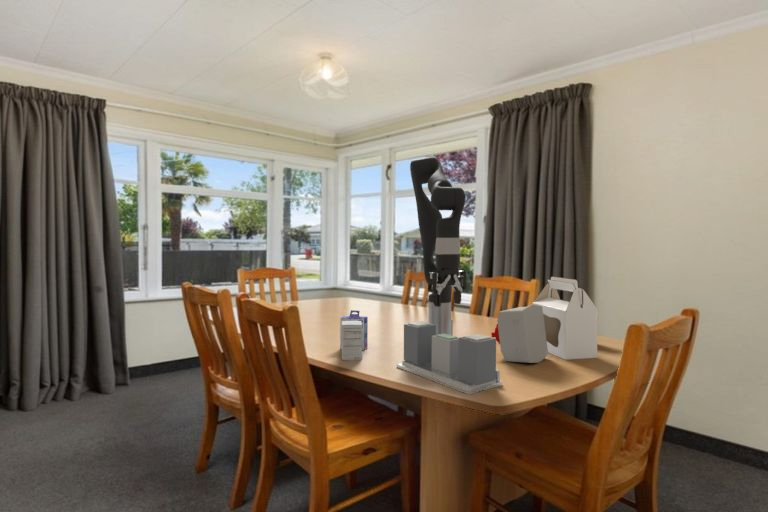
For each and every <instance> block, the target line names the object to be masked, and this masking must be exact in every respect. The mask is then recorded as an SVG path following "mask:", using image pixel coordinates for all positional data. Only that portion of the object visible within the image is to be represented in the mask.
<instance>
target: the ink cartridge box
mask: <svg viewBox="0 0 768 512" xmlns="http://www.w3.org/2000/svg"><path fill="white" fill-rule="evenodd" d="M368 317H369V316H361V315H360V310H352V309H351V310H350V313H349V316H348V315H344V316H342V317H340V323H339V325H340V328H339V331H340V333H339V334H340V336H339V338H340V339H339V343H340V345H339V348H340V350H342V342H341V325H342V321H361V322H362V351H365V350H366V349H367V348H368V345H369V344H368V343H369V342H368V336H369V335H368V331H369V330H368V324H369V322H368Z"/></svg>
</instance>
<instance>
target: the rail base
mask: <svg viewBox="0 0 768 512" xmlns="http://www.w3.org/2000/svg"><path fill="white" fill-rule="evenodd" d="M397 367H398V368H397ZM431 367H432V362H428V363H423V364H418V365H417V364H414V363H411V362H408V361H405V360H402V361H401V363H397V364H396V368H397V369H399V370H402V369H403V371H405V370H406V371H405V372H408V371H409V372H408V373H410V372H412V373H411V374H413V373H414V374H413V375H415V374H417V375H416V376H418V375H420V376H419V377H421V376H423V377H425V378H424V379H426V378H428V379H427V380H429V379H430V380H429V381H431V380H433V381H432V382H434V381H436V382H438V383H437V384H439V383H440V384H439V385H442V384H443V385H442V386H444V385H445V387H447V386H448V387H447V388H450V389H452V388H453V390H455V389H456V390H455V391H457V390H458V392H460V391H461V392H460V393H463V392H464V393H463V394H465V393H466V394H465V395H468V394H471V395H473V393H474V394H477V393H480V392H479V391H481V392H483V391H482V390H484V391H486V390H491V389H493V388H498V387H500V386H503V381H501V379H500V378H501V376H500V375H501V372H500V370H499V369H496V380H495V381H491V382H488V383H484V384H480V385H477V386H476V385H474V384H471V383H468V382H465V381H462V380H459V379H458V372H455V373H451V374H449V373H446V372H443V371H440V370H437V369H434V368H431ZM423 377H422V378H423ZM436 382H435V383H436ZM490 388H491V389H490ZM476 392H477V393H476Z"/></svg>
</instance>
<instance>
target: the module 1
mask: <svg viewBox="0 0 768 512" xmlns="http://www.w3.org/2000/svg"><path fill="white" fill-rule="evenodd" d="M434 335H436V325H434V324H432V323H428V321H427V322H426V321H414V322H408V323H404V324H403V361H408V362H411V363H414V364H417V365H418V364H423V363H428V362H432V336H434Z"/></svg>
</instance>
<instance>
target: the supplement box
mask: <svg viewBox="0 0 768 512" xmlns="http://www.w3.org/2000/svg"><path fill="white" fill-rule="evenodd" d="M341 342H342V349H341V360H342V361H361V360H363V350H362V322H361V321H342V325H341Z"/></svg>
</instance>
